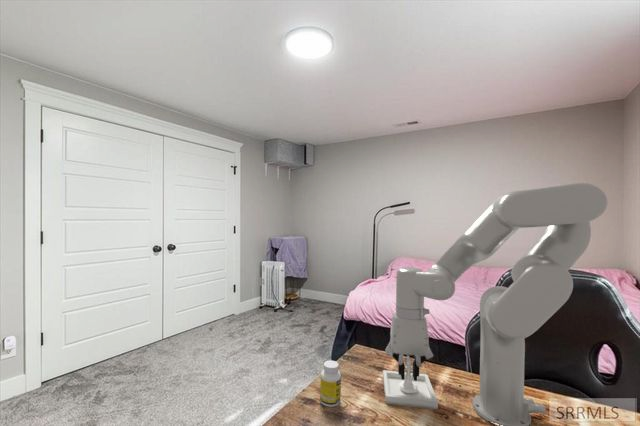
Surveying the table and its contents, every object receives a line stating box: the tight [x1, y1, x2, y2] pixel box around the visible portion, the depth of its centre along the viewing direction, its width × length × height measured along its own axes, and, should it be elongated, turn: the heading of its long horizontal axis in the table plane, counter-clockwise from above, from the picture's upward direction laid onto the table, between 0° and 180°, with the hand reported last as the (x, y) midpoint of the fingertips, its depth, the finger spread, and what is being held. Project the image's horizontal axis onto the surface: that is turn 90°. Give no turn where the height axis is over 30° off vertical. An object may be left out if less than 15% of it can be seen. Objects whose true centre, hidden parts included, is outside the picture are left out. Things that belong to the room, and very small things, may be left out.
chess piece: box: [399, 354, 418, 393], centre depth 83 cm, size 5×5×10 cm
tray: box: [382, 369, 439, 410], centre depth 83 cm, size 13×13×2 cm
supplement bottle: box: [319, 360, 342, 408], centre depth 78 cm, size 5×5×10 cm
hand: (408, 377), depth 83 cm, fingers open, 2 cm apart
